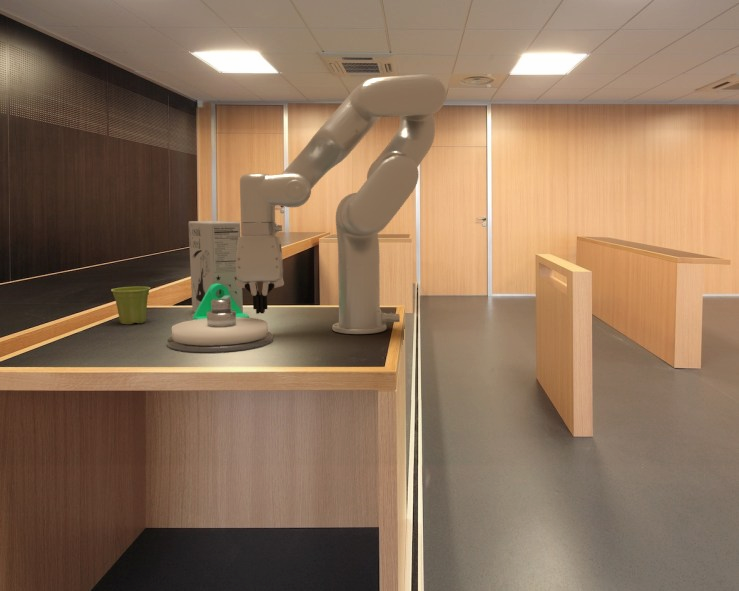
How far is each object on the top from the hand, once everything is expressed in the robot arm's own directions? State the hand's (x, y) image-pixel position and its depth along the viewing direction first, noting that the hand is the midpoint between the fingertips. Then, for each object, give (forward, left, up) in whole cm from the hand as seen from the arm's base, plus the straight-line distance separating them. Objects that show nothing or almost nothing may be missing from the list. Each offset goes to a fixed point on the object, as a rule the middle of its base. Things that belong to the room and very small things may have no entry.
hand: (260, 312), depth 149 cm
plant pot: (+35, -20, -5) cm, 40 cm away
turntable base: (+8, +7, -5) cm, 12 cm away
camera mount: (+11, -13, -6) cm, 18 cm away
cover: (+7, +7, -2) cm, 10 cm away
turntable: (+8, +7, -4) cm, 11 cm away
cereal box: (+15, -28, -5) cm, 33 cm away
